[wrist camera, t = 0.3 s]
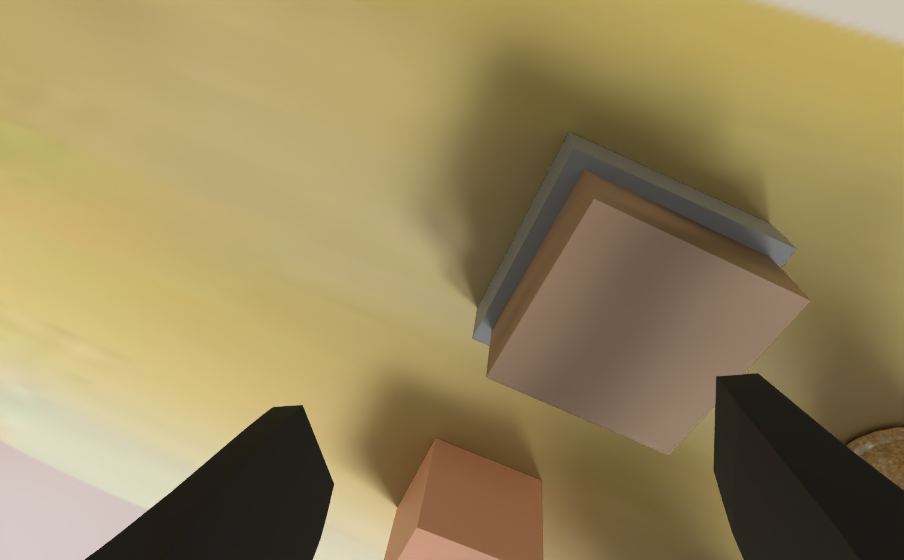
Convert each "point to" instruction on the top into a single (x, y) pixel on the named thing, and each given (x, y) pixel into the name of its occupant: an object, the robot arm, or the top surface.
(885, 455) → the sprinkles bottle
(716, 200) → the tower base
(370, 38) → the top surface
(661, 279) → the tower top
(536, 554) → the block
